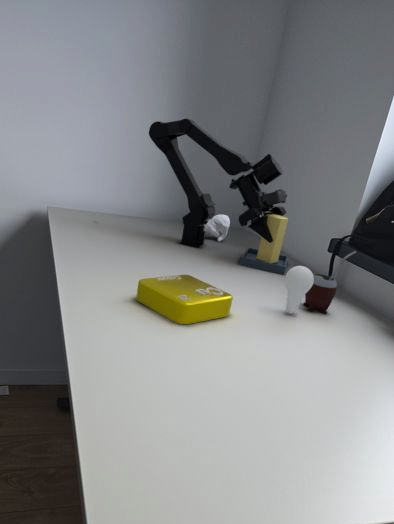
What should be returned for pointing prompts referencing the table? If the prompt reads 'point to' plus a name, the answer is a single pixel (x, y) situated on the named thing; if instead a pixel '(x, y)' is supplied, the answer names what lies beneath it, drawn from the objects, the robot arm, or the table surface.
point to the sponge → (277, 230)
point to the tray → (251, 261)
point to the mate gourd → (322, 290)
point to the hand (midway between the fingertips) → (275, 241)
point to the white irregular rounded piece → (218, 226)
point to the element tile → (184, 298)
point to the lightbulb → (297, 286)
